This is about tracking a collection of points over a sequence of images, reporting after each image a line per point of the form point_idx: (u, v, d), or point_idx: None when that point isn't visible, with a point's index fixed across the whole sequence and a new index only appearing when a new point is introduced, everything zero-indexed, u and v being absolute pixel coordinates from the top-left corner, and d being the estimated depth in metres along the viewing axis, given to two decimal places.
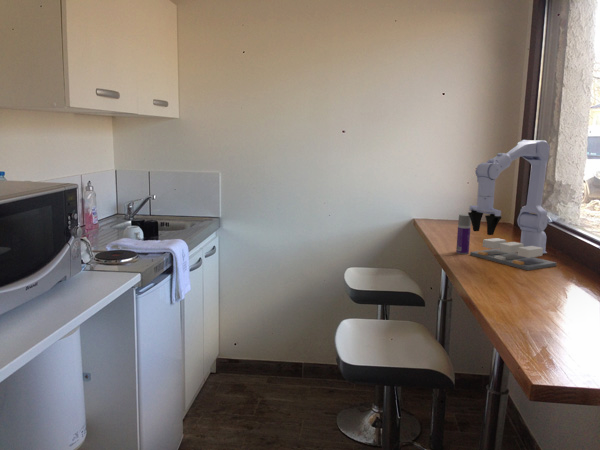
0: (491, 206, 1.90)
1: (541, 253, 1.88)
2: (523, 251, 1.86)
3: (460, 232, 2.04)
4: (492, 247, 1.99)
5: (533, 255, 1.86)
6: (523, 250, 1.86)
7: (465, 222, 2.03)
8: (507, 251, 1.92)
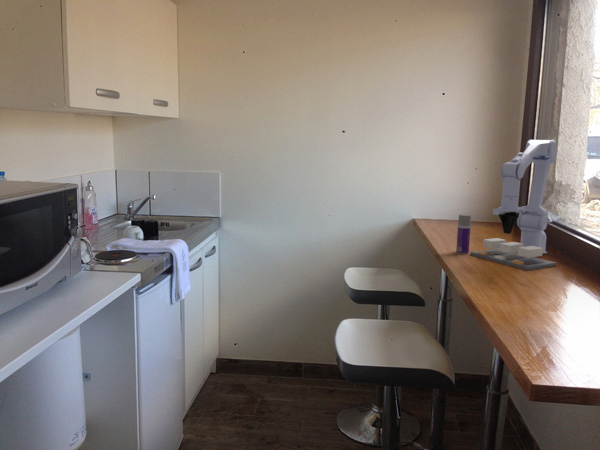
0: (505, 206, 1.89)
1: (541, 253, 1.88)
2: (523, 251, 1.86)
3: (460, 232, 2.04)
4: (492, 247, 1.99)
5: (533, 255, 1.86)
6: (523, 250, 1.86)
7: (465, 222, 2.03)
8: (507, 251, 1.92)
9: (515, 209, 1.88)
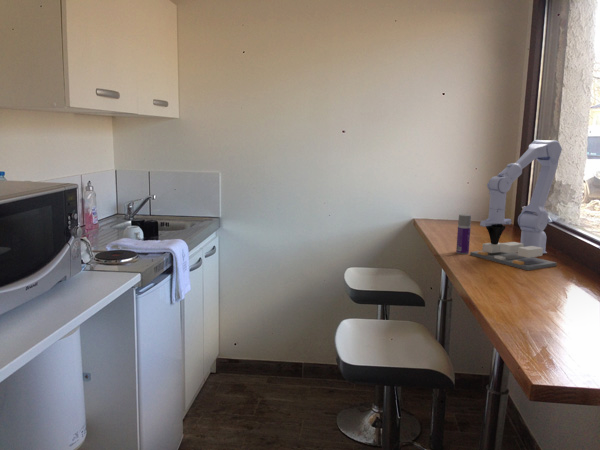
0: (492, 218, 1.99)
1: (541, 253, 1.88)
2: (523, 251, 1.86)
3: (460, 232, 2.04)
4: (492, 251, 1.99)
5: (533, 255, 1.86)
6: (523, 250, 1.86)
7: (465, 222, 2.03)
8: (507, 251, 1.92)
9: (501, 221, 1.98)
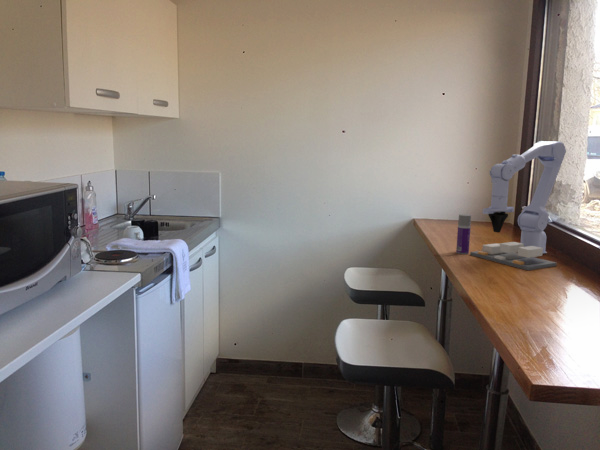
0: (494, 205, 1.97)
1: (541, 253, 1.88)
2: (523, 251, 1.86)
3: (460, 232, 2.04)
4: (492, 252, 1.99)
5: (533, 255, 1.86)
6: (523, 250, 1.86)
7: (465, 222, 2.03)
8: (507, 251, 1.92)
9: (504, 209, 1.96)
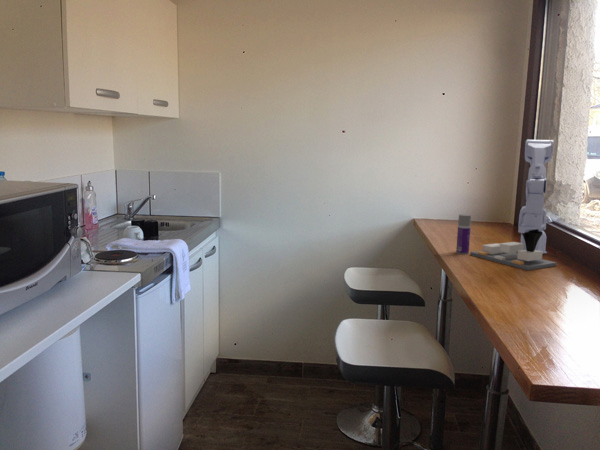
0: (529, 223, 1.84)
1: (541, 256, 1.88)
2: (523, 255, 1.86)
3: (460, 232, 2.04)
4: (492, 252, 1.99)
5: (533, 259, 1.86)
6: (522, 253, 1.86)
7: (465, 222, 2.03)
8: (507, 251, 1.92)
9: (540, 227, 1.84)
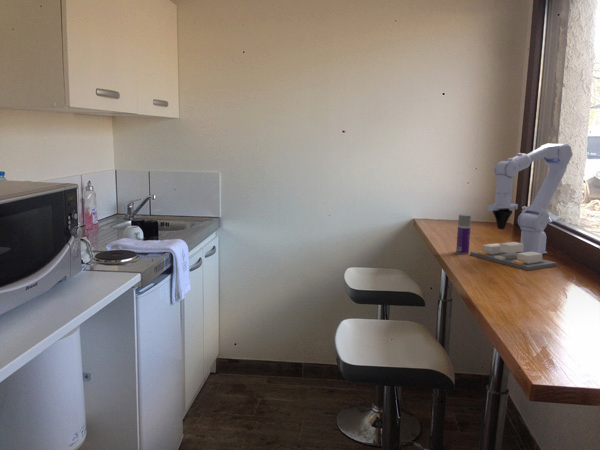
0: (499, 202, 1.99)
1: (540, 259, 1.88)
2: (523, 257, 1.86)
3: (460, 232, 2.04)
4: (492, 252, 1.99)
5: (532, 261, 1.86)
6: (522, 256, 1.87)
7: (465, 222, 2.03)
8: (507, 251, 1.92)
9: (508, 206, 1.98)
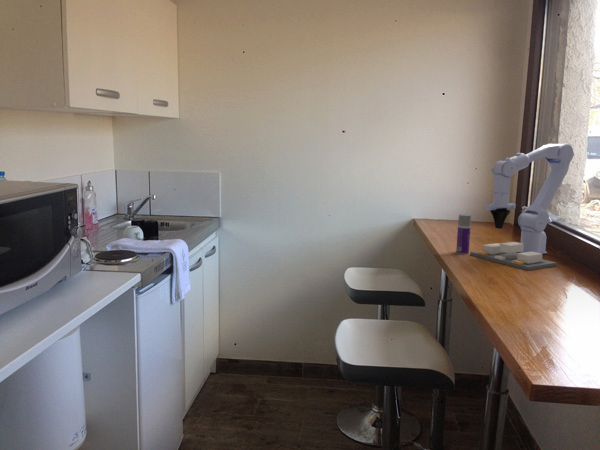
0: (496, 202, 2.00)
1: (540, 259, 1.88)
2: (523, 257, 1.86)
3: (460, 232, 2.04)
4: (492, 252, 1.99)
5: (532, 261, 1.86)
6: (522, 256, 1.87)
7: (465, 222, 2.03)
8: (507, 251, 1.92)
9: (506, 205, 1.99)
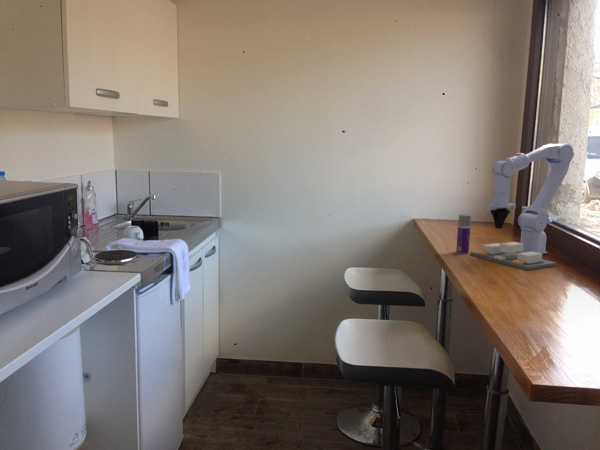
0: (496, 202, 2.00)
1: (540, 259, 1.88)
2: (523, 257, 1.86)
3: (460, 232, 2.04)
4: (492, 252, 1.99)
5: (532, 261, 1.86)
6: (522, 256, 1.87)
7: (465, 222, 2.03)
8: (507, 251, 1.92)
9: (506, 205, 1.99)
